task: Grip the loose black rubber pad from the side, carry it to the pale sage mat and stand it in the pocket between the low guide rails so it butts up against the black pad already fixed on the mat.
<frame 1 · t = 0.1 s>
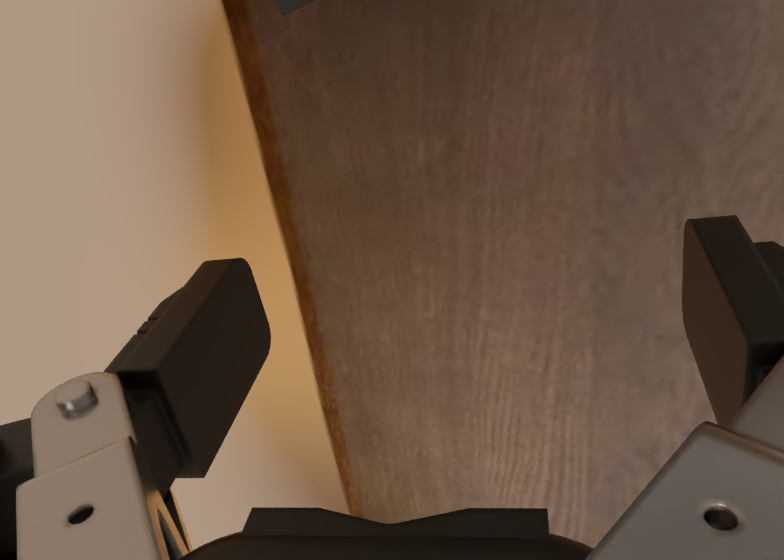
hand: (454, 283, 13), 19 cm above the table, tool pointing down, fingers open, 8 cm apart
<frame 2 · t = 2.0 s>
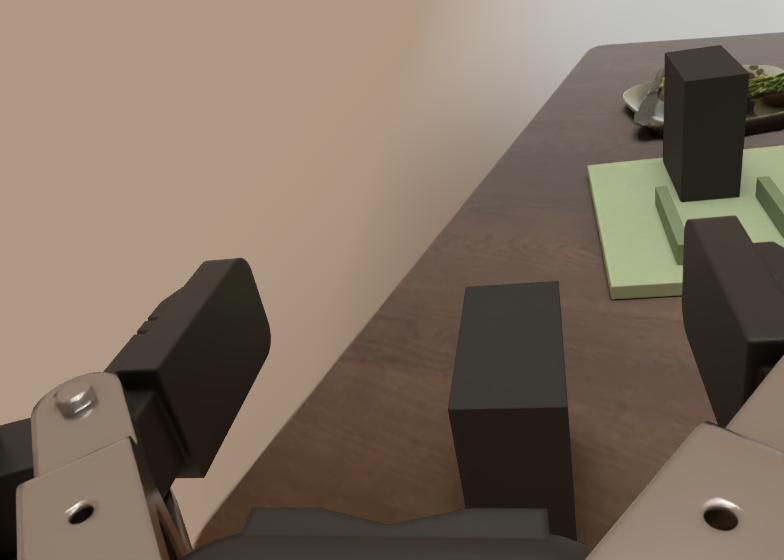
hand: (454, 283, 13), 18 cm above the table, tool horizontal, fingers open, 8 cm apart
black pad: (527, 499, 31), on the table
salad plate: (715, 112, 67), on the table
dock mat: (712, 218, 49), on the table
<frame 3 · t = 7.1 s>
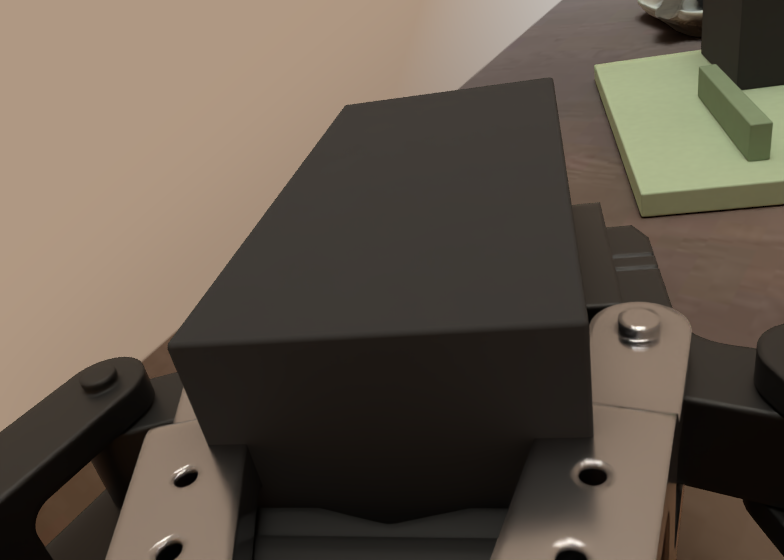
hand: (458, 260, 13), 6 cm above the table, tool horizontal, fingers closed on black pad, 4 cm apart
salad plate: (760, 12, 51), on the table
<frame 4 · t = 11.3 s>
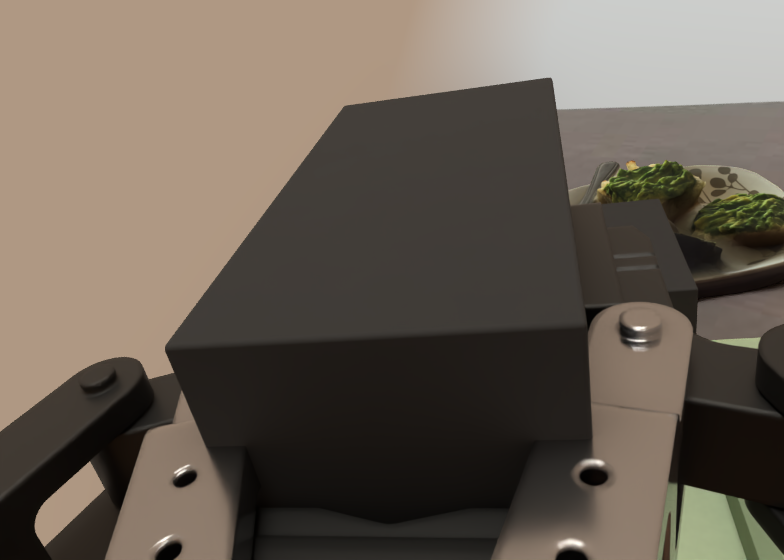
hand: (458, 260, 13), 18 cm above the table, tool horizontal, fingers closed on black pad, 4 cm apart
salad plate: (669, 243, 47), on the table
dock mat: (644, 502, 29), on the table
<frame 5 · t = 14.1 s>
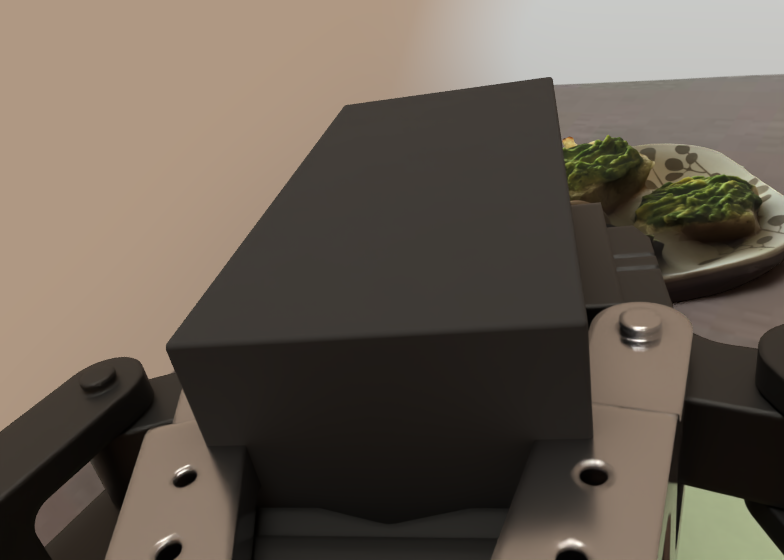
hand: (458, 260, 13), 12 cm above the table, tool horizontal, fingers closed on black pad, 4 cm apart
salad plate: (608, 238, 38), on the table
when the fingers open (7 cm above the table, at t = 15.9 s): black pad stays where it is, resting on dock mat.
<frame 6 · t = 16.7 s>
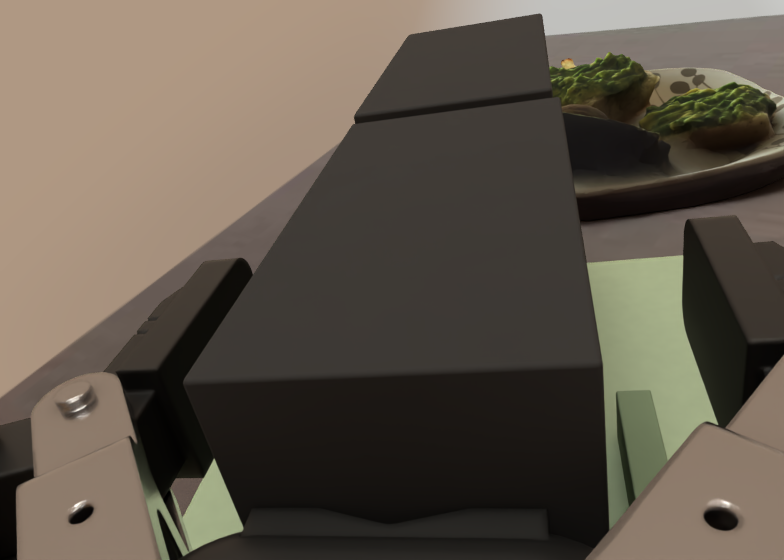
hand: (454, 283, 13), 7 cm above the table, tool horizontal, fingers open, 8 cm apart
salad plate: (610, 157, 36), on the table
dock mat: (500, 495, 17), on the table
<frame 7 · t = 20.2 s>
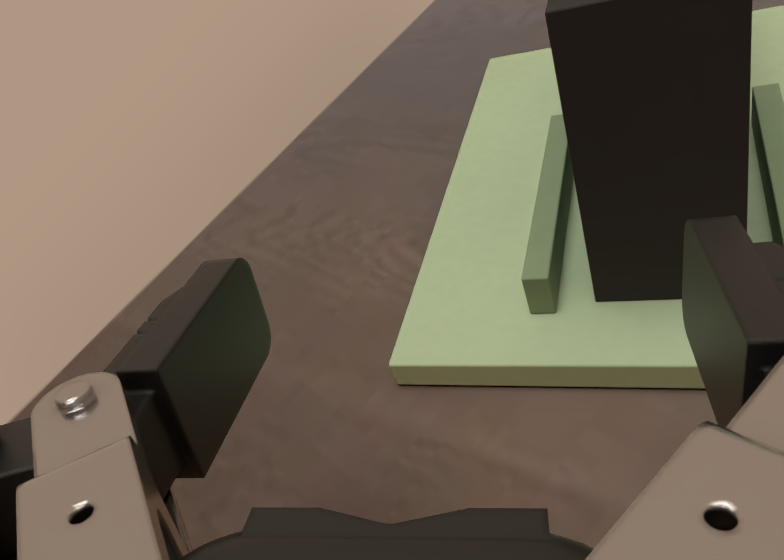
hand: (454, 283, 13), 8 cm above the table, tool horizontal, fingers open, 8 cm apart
black pad: (665, 212, 22), point 1 cm above the table, touching dock mat
dock mat: (662, 173, 25), on the table
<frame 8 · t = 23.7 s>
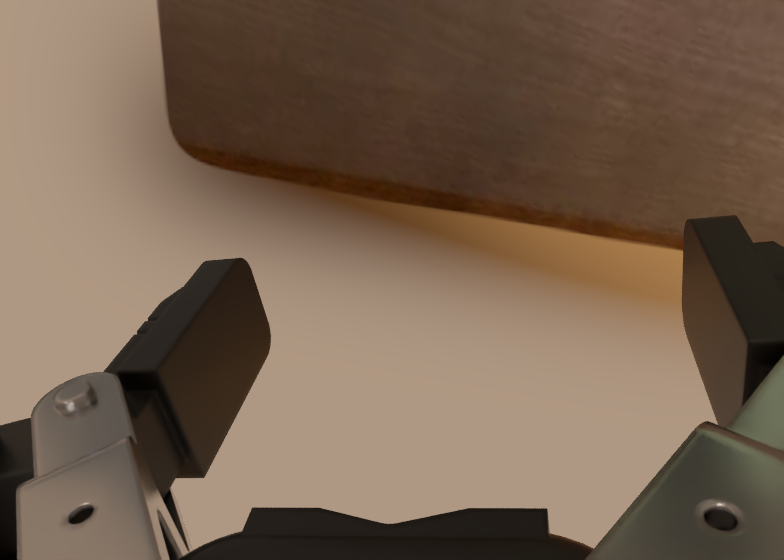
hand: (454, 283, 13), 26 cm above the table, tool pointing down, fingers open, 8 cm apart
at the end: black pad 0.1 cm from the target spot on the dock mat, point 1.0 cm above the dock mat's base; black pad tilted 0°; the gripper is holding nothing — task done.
